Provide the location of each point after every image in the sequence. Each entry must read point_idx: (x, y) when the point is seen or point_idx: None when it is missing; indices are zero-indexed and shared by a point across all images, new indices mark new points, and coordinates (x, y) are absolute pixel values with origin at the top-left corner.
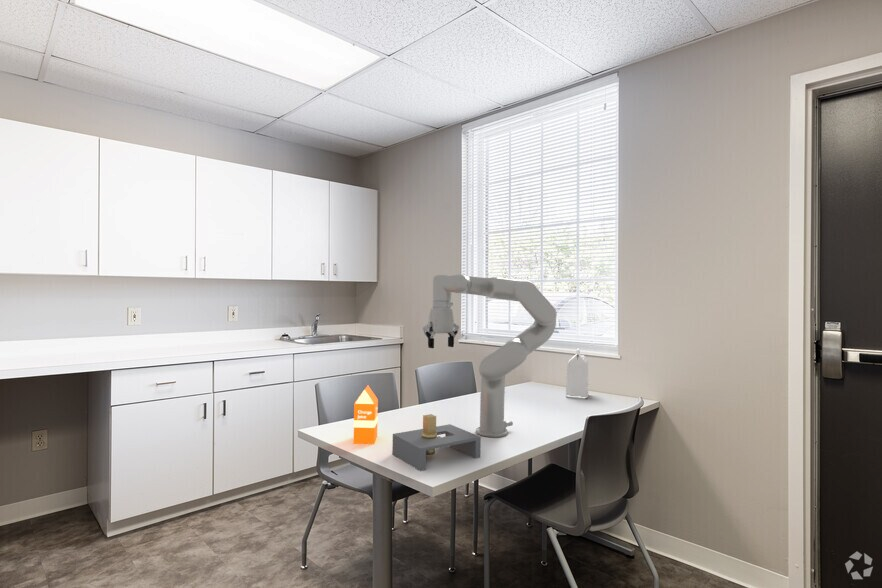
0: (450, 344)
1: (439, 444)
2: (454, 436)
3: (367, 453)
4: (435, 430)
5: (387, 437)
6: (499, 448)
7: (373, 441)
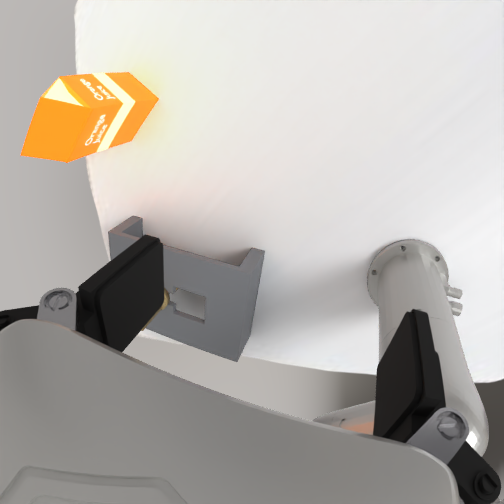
0: (388, 363)
1: (150, 328)
2: (196, 328)
3: (103, 180)
4: (157, 312)
5: (175, 116)
6: (318, 339)
7: (127, 141)
